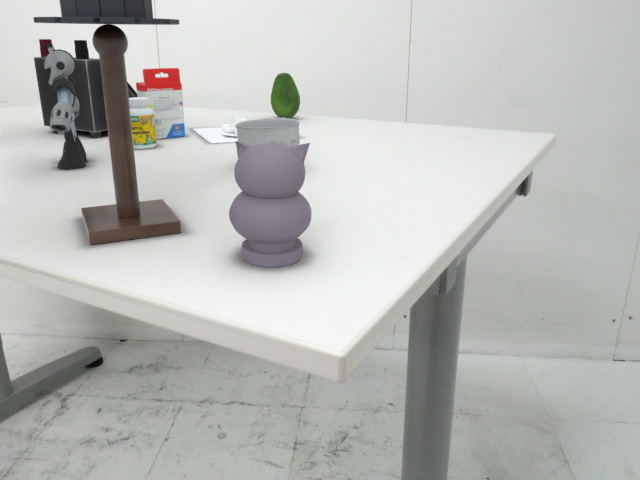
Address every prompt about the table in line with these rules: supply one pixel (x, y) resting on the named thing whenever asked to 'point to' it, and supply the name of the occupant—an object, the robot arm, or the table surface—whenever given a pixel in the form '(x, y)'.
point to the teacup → (269, 131)
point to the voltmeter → (87, 85)
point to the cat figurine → (270, 203)
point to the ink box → (164, 101)
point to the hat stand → (122, 157)
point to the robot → (65, 106)
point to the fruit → (285, 96)
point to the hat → (106, 13)
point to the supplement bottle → (142, 123)
